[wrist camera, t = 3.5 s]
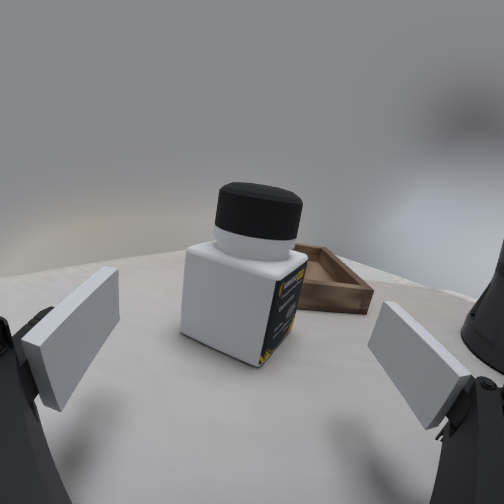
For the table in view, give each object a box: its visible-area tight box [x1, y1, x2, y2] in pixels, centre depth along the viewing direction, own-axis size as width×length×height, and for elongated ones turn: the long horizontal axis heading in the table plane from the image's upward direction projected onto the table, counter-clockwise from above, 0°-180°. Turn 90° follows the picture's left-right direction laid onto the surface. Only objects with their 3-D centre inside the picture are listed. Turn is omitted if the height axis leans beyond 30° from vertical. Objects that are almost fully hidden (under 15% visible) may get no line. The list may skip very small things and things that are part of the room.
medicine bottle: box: [180, 182, 308, 367], centre depth 21 cm, size 7×7×12 cm
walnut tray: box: [292, 243, 374, 314], centre depth 38 cm, size 13×18×3 cm
